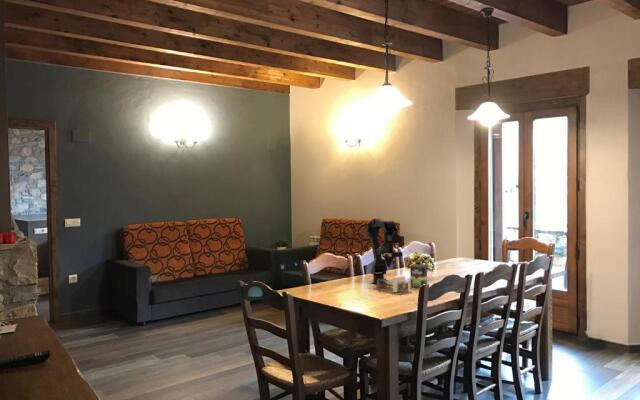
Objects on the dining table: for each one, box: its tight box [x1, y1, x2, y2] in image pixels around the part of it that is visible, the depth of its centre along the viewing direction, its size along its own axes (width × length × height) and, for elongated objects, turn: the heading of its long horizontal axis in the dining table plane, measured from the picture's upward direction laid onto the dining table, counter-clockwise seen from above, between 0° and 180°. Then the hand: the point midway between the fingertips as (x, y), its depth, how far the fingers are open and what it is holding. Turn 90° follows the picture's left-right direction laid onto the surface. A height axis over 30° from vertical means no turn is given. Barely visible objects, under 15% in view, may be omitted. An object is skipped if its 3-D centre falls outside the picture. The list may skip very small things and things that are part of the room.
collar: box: [392, 275, 406, 292], centre depth 313 cm, size 3×7×9 cm, turn 128°
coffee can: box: [409, 263, 428, 291], centre depth 326 cm, size 10×10×14 cm
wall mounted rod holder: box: [373, 277, 413, 296], centre depth 318 cm, size 22×10×6 cm, turn 38°
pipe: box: [381, 279, 406, 294], centre depth 318 cm, size 20×10×6 cm, turn 38°
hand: (388, 267), depth 327 cm, fingers closed
